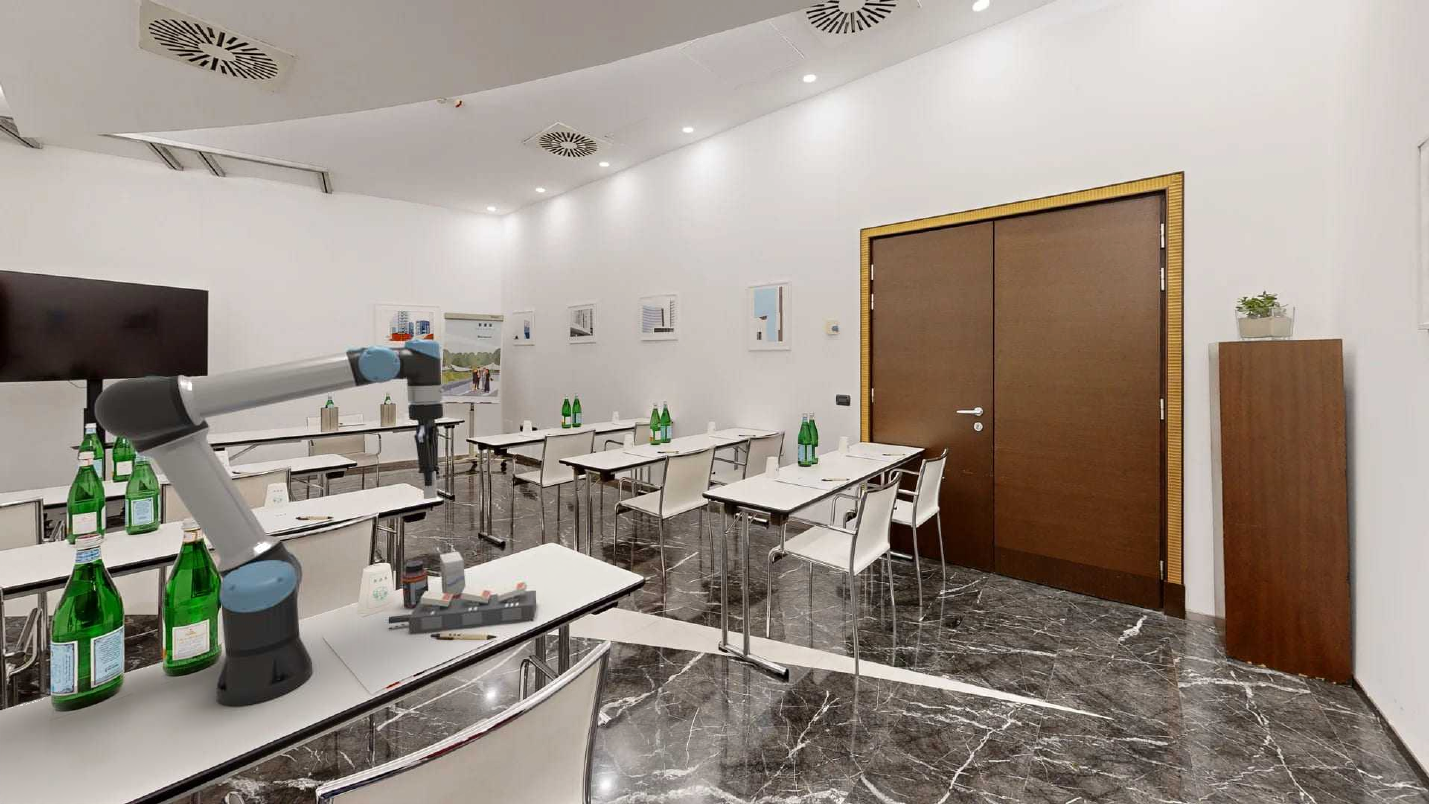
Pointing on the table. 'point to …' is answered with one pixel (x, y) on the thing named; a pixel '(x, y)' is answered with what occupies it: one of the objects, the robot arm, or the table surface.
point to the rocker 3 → (512, 591)
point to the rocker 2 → (475, 595)
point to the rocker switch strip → (469, 613)
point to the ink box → (452, 574)
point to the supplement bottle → (414, 583)
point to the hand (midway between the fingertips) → (430, 497)
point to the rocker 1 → (436, 598)
